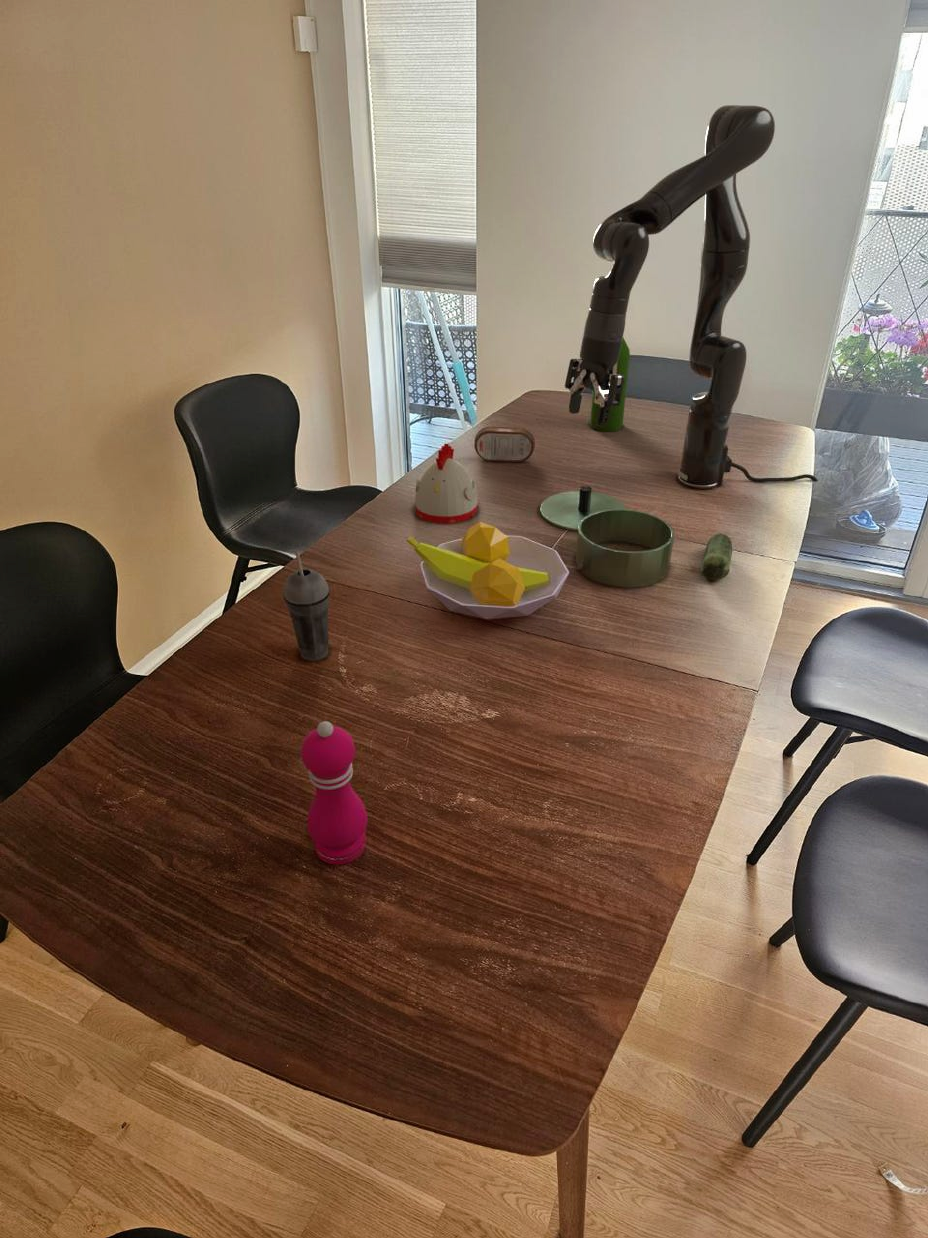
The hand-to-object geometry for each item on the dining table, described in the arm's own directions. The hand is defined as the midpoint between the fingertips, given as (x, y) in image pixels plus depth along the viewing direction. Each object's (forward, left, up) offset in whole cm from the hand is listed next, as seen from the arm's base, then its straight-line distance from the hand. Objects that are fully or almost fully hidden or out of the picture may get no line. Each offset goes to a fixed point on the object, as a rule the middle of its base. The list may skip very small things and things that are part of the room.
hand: (586, 418), depth 162 cm
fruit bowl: (+22, +30, -22) cm, 43 cm away
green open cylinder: (-5, +20, -22) cm, 30 cm away
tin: (+14, -33, -23) cm, 42 cm away
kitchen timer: (+29, -6, -22) cm, 37 cm away
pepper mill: (+44, +88, -22) cm, 101 cm away
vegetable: (-23, +22, -23) cm, 39 cm away
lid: (-1, -2, -22) cm, 22 cm away
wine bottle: (-16, -56, -22) cm, 62 cm away
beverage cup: (+52, +47, -22) cm, 73 cm away
